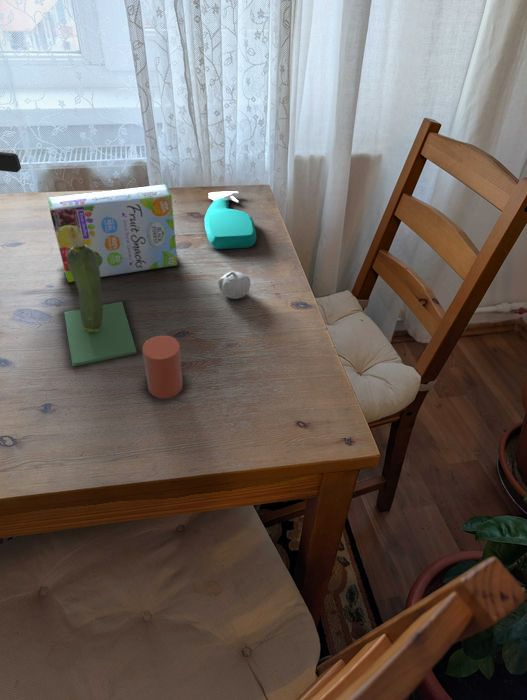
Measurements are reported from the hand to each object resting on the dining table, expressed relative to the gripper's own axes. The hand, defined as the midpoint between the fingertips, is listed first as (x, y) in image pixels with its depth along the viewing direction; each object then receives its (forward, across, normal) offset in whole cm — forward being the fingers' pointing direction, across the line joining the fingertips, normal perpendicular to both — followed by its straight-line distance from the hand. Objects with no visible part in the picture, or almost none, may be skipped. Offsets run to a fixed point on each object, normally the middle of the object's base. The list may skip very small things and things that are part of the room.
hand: (1, 176), depth 64 cm
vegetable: (+4, +7, +29) cm, 31 cm away
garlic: (+25, +22, +30) cm, 45 cm away
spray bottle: (+19, +50, +30) cm, 61 cm away
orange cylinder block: (+19, -3, +30) cm, 35 cm away
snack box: (+2, +27, +30) cm, 40 cm away
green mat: (+5, +7, +30) cm, 31 cm away
